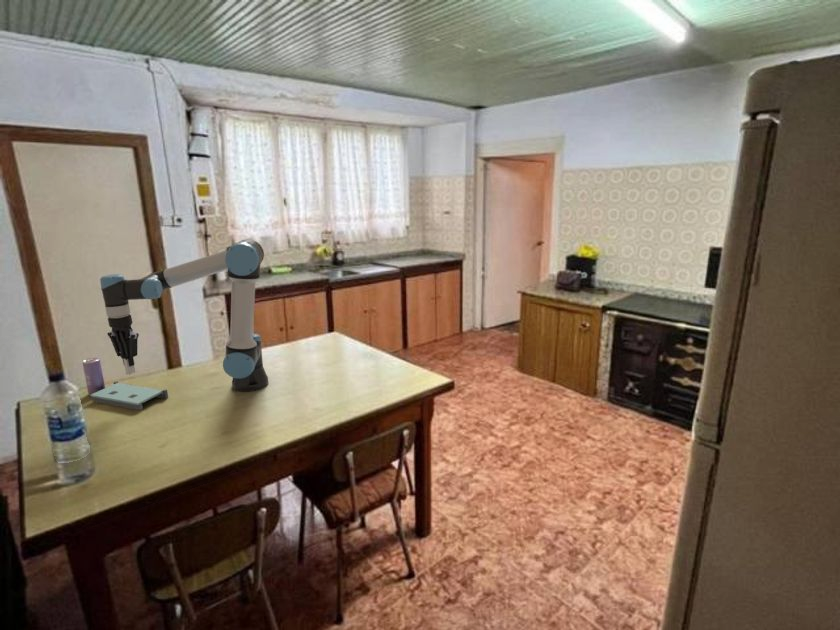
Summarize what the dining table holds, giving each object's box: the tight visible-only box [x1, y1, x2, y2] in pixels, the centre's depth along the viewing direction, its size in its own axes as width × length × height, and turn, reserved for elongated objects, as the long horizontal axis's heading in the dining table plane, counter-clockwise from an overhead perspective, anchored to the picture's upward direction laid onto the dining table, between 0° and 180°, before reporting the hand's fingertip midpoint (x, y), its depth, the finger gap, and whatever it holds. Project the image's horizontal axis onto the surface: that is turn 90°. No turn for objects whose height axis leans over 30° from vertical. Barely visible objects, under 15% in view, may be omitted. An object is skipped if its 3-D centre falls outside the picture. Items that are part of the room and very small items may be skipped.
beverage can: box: [82, 357, 106, 396], centre depth 189 cm, size 6×6×15 cm
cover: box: [89, 382, 164, 405], centre depth 185 cm, size 24×13×1 cm, turn 74°
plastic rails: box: [92, 381, 169, 411], centre depth 185 cm, size 27×12×4 cm, turn 74°
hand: (130, 373), depth 179 cm, fingers closed
